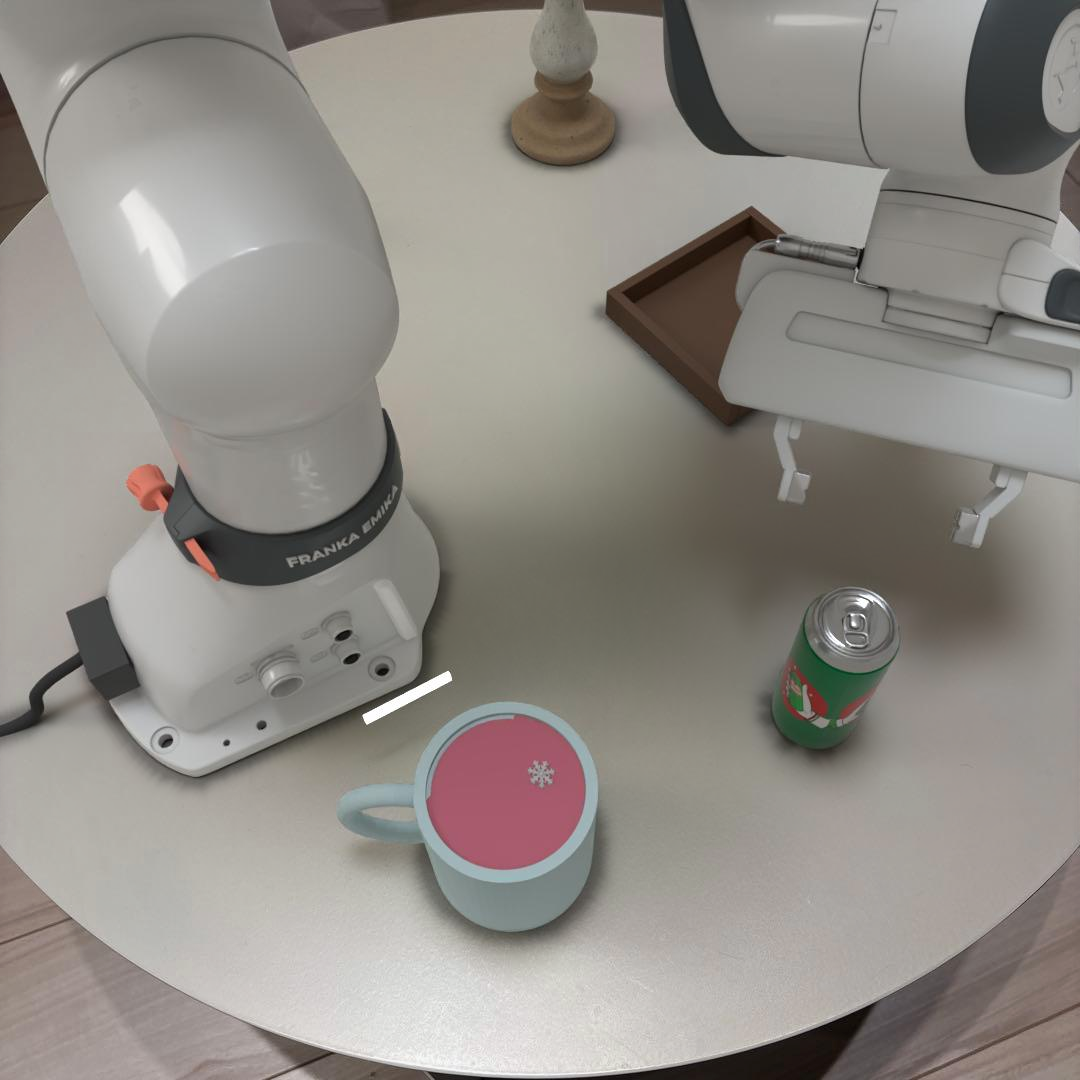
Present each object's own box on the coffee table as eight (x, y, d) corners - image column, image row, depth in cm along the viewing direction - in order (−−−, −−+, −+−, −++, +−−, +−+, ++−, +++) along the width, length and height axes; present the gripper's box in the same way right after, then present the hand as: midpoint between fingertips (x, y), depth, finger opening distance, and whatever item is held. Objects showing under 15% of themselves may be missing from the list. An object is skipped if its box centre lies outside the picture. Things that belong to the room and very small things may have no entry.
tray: (727, 426, 80) (731, 405, 78) (605, 313, 86) (606, 290, 84) (872, 329, 85) (880, 307, 83) (747, 228, 91) (751, 205, 89)
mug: (593, 772, 67) (599, 704, 59) (591, 934, 62) (597, 886, 54) (362, 765, 68) (334, 696, 59) (342, 925, 63) (309, 876, 54)
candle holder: (509, 165, 95) (498, -74, 78) (514, 97, 100) (505, -144, 82) (614, 167, 95) (627, -73, 77) (615, 98, 99) (627, -143, 82)
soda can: (852, 678, 70) (902, 582, 60) (856, 756, 68) (909, 670, 57) (769, 671, 71) (805, 575, 60) (770, 748, 68) (807, 661, 58)
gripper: (747, 222, 57) (683, 486, 61) (1172, 309, 54) (1079, 582, 58) (752, 229, 63) (694, 468, 67) (1135, 307, 60) (1053, 555, 64)
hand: (875, 522), depth 62 cm, fingers open, 8 cm apart
